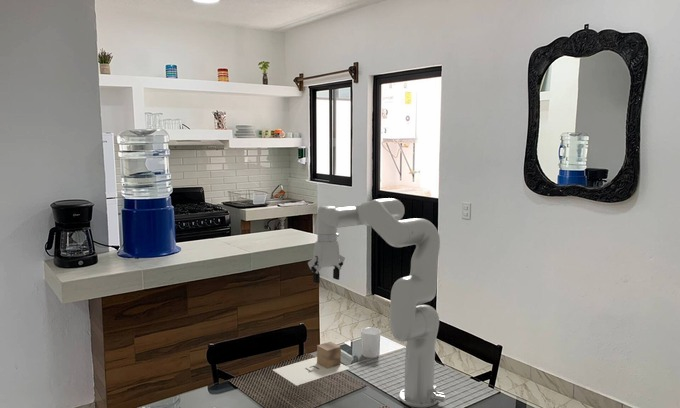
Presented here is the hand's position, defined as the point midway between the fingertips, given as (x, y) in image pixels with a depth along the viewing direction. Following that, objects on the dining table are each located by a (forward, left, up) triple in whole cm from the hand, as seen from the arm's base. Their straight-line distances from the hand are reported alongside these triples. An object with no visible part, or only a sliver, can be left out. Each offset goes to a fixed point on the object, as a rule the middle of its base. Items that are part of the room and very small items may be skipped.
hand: (326, 280), depth 205 cm
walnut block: (-6, +8, -30) cm, 31 cm away
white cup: (-15, -10, -31) cm, 35 cm away
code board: (-3, +15, -30) cm, 34 cm away
